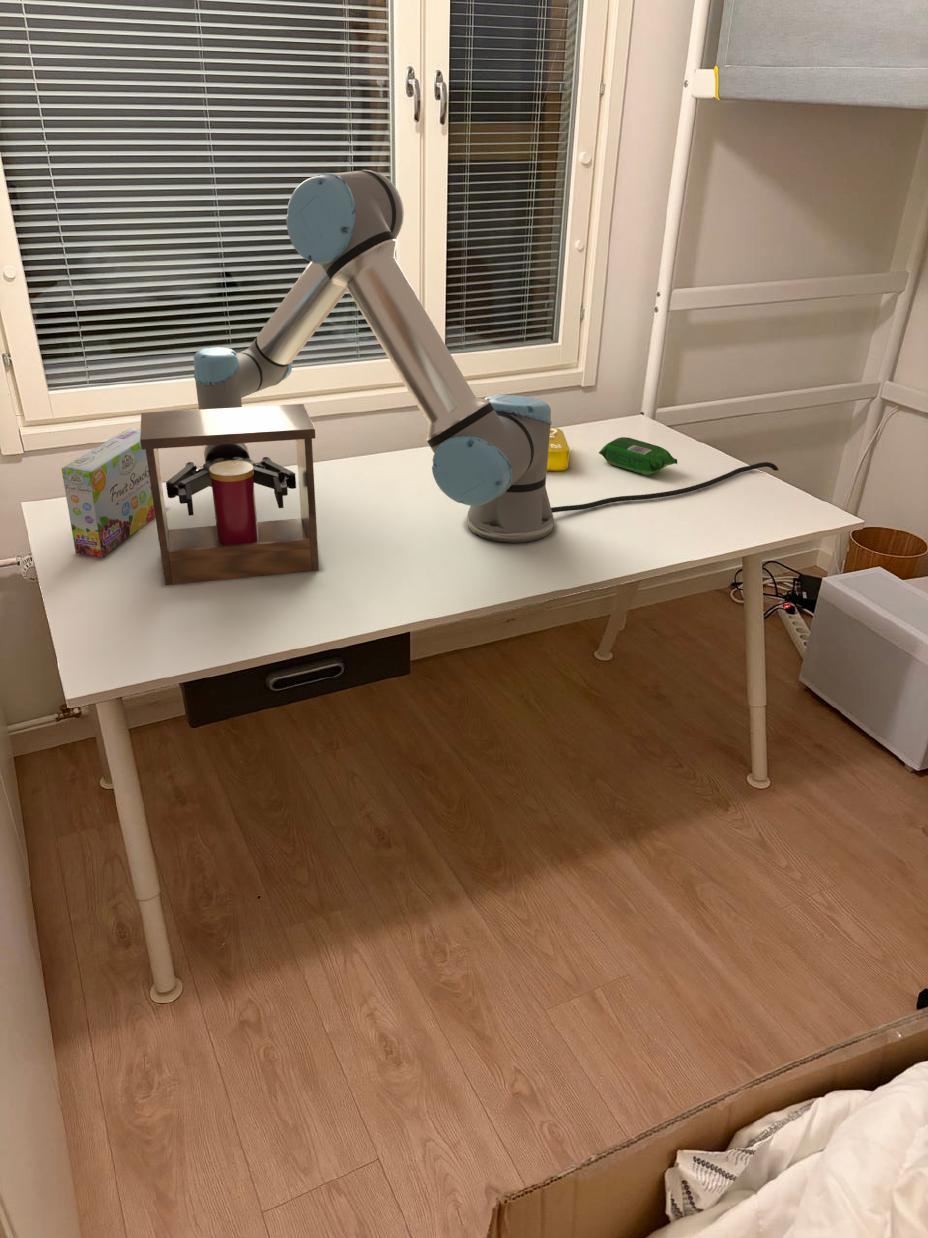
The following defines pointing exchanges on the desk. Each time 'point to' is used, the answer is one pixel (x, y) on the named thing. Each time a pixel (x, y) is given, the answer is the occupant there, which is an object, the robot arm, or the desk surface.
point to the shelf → (278, 542)
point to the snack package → (636, 455)
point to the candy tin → (234, 502)
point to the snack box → (108, 494)
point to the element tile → (557, 451)
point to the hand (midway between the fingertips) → (235, 503)
